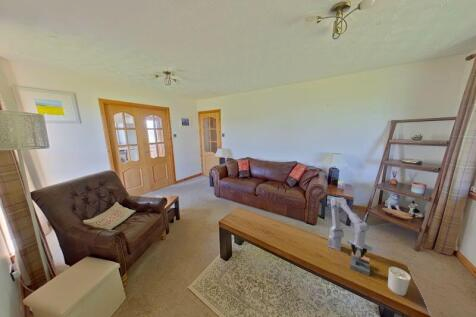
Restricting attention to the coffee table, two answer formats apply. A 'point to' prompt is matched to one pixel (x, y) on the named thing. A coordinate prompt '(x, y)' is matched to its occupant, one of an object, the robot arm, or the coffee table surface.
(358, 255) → the metal peg
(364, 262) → the socket block
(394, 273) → the candle holder
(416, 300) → the coffee table surface
